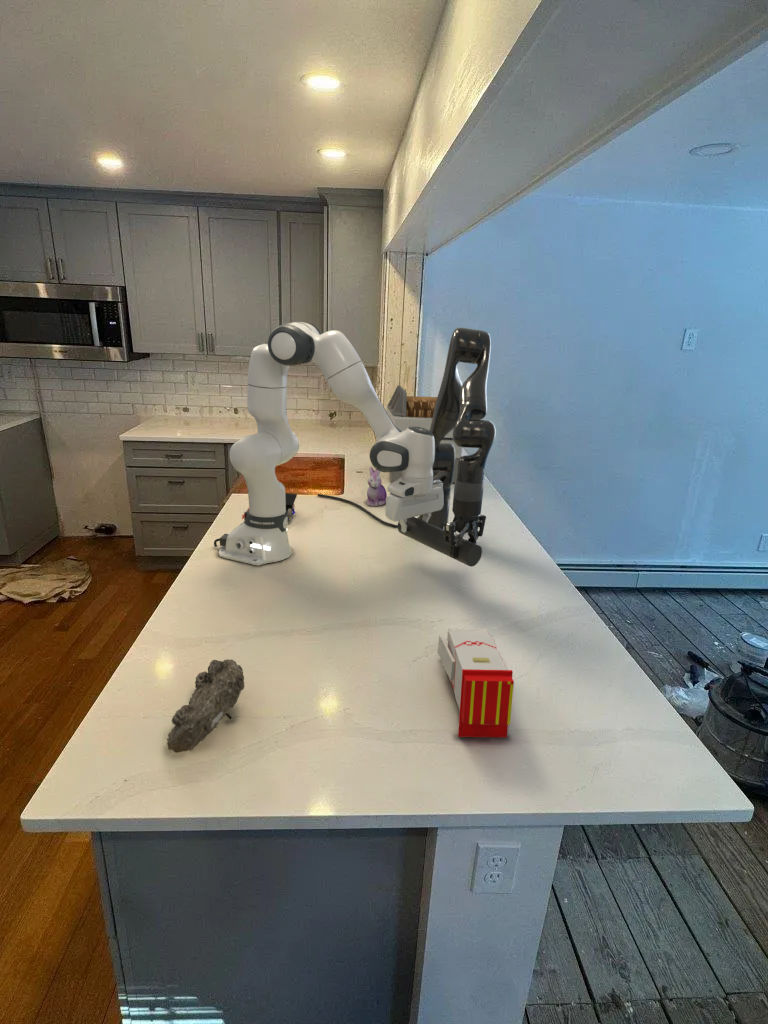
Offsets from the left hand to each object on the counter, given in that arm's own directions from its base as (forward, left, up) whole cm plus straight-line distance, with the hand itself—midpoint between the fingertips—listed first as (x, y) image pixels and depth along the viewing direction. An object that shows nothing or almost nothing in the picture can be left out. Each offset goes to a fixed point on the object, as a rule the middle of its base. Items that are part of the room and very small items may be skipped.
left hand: (414, 529), depth 167 cm
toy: (+21, -54, -14) cm, 59 cm away
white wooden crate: (-13, +109, -14) cm, 111 cm away
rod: (+8, -6, -3) cm, 10 cm away
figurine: (-24, +59, -14) cm, 65 cm away
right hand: (+15, -12, -1) cm, 19 cm away
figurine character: (-52, +32, -14) cm, 63 cm away
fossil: (-27, -74, -14) cm, 80 cm away
